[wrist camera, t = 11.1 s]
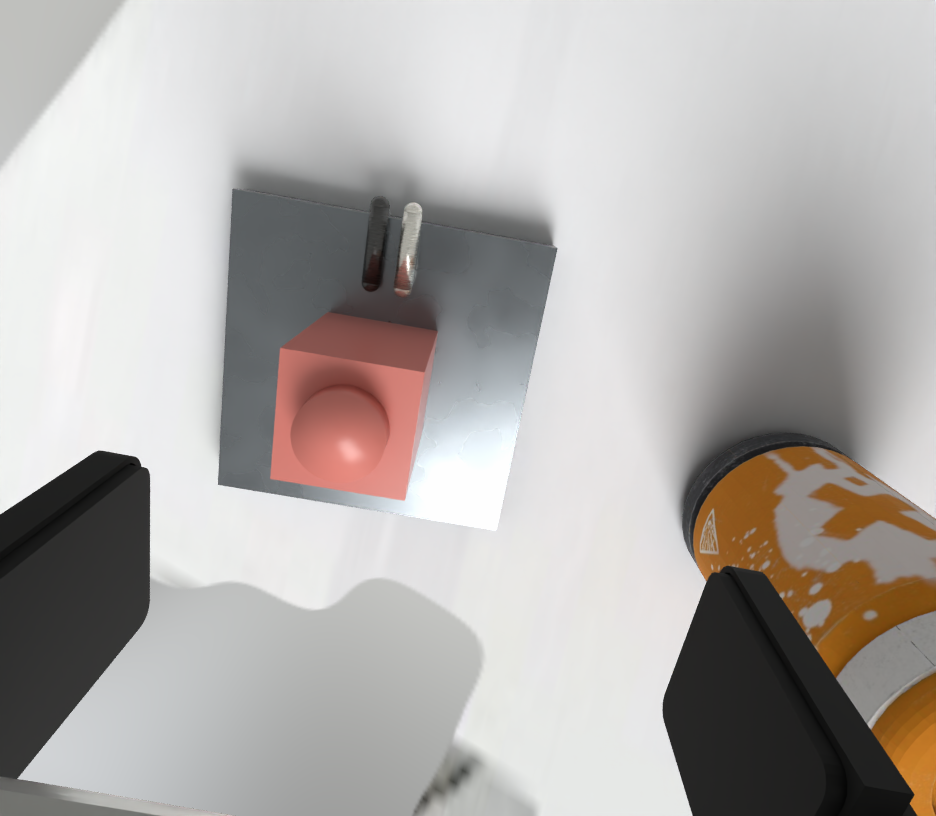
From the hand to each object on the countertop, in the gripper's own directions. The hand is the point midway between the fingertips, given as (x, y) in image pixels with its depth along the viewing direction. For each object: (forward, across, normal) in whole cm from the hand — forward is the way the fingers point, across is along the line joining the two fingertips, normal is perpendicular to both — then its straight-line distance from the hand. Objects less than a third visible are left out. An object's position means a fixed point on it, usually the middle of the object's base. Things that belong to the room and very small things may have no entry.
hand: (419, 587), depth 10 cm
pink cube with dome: (+19, +4, +3) cm, 19 cm away
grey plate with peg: (+20, +4, +3) cm, 21 cm away
